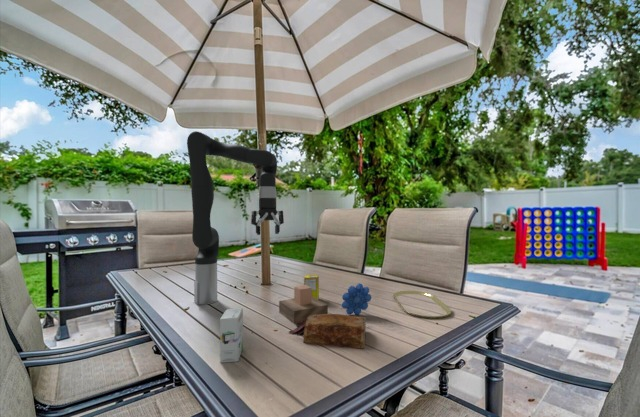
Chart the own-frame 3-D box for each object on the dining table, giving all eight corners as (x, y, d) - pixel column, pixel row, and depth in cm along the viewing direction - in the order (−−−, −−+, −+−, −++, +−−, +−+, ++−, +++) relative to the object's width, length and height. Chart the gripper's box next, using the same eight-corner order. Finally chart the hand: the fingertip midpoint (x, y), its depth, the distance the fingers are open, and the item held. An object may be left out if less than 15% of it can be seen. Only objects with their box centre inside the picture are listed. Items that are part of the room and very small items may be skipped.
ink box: (226, 348, 87) (226, 308, 87) (243, 347, 88) (243, 307, 88) (219, 363, 79) (219, 318, 79) (238, 362, 79) (238, 317, 79)
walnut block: (294, 325, 106) (294, 311, 106) (279, 313, 118) (279, 301, 118) (327, 317, 112) (327, 304, 113) (310, 307, 125) (310, 295, 125)
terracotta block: (300, 305, 112) (300, 289, 112) (294, 302, 116) (294, 286, 116) (311, 303, 114) (311, 287, 115) (305, 300, 119) (305, 285, 119)
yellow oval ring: (408, 320, 109) (408, 316, 109) (389, 293, 144) (389, 290, 144) (459, 320, 109) (459, 316, 109) (428, 293, 144) (428, 290, 144)
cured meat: (296, 321, 108) (296, 303, 108) (365, 326, 104) (365, 306, 104) (281, 345, 90) (281, 322, 90) (364, 351, 86) (364, 328, 86)
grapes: (368, 310, 119) (368, 280, 119) (373, 316, 112) (372, 284, 113) (340, 311, 118) (339, 281, 118) (342, 317, 111) (342, 285, 111)
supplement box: (319, 298, 136) (318, 274, 136) (317, 302, 130) (317, 277, 130) (306, 298, 137) (306, 274, 137) (304, 302, 131) (304, 277, 131)
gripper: (278, 198, 137) (279, 233, 137) (249, 197, 129) (249, 234, 129) (286, 197, 131) (286, 234, 131) (255, 196, 123) (255, 235, 123)
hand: (267, 234), depth 130 cm, fingers open, 8 cm apart
